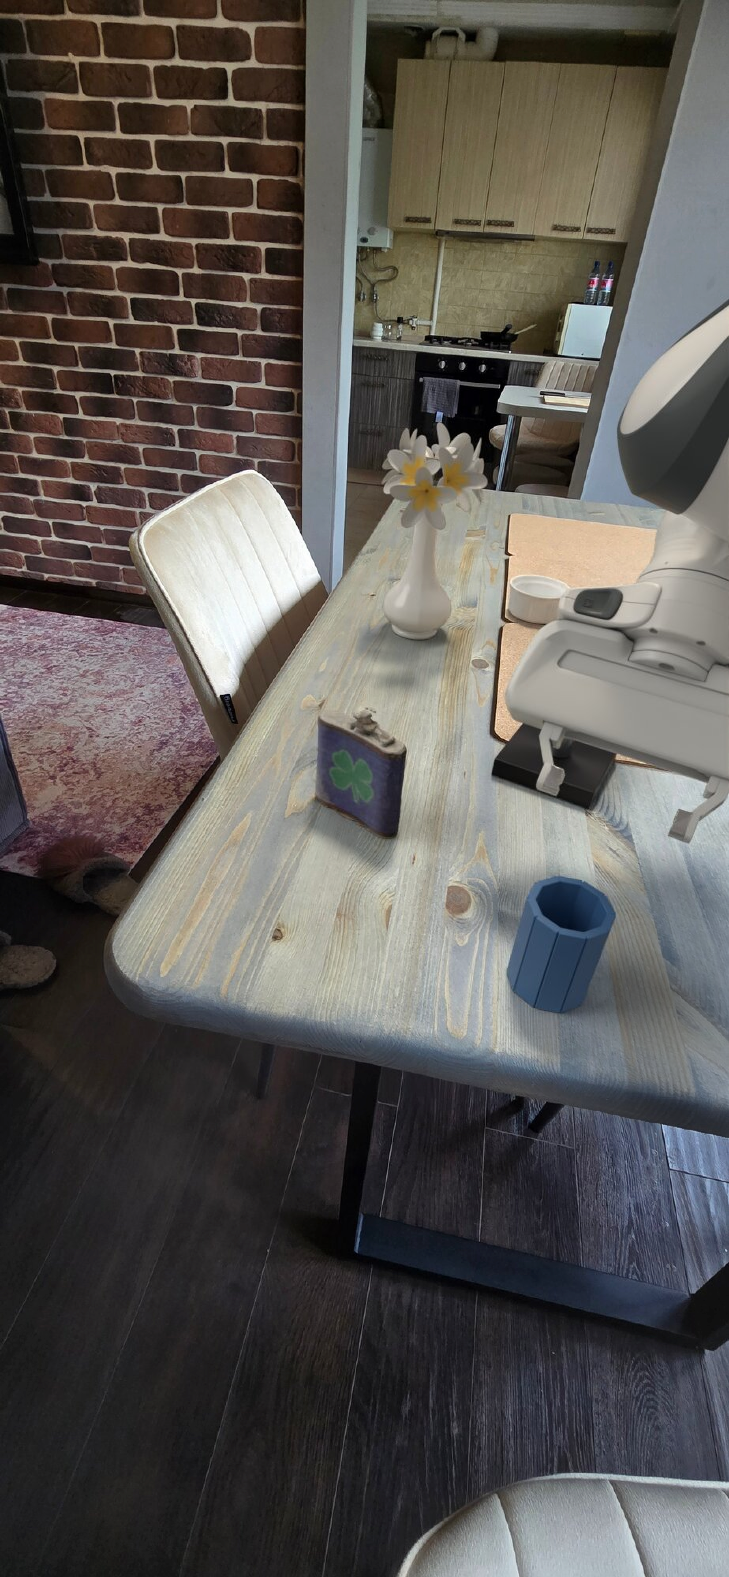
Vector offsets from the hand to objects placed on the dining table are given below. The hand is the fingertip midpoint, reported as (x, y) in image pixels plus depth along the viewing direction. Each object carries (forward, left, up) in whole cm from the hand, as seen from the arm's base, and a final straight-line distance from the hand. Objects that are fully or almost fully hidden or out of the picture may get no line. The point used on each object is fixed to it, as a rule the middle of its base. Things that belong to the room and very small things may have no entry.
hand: (610, 814), depth 52 cm
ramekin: (+23, -58, -11) cm, 63 cm away
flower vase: (+34, -41, -11) cm, 54 cm away
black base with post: (+8, -20, -11) cm, 24 cm away
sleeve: (0, +7, -11) cm, 13 cm away
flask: (+21, -2, -11) cm, 24 cm away
